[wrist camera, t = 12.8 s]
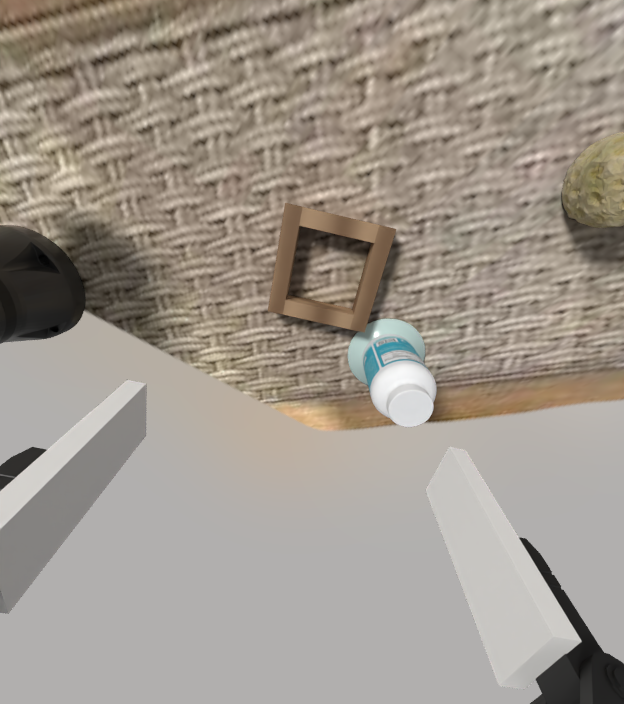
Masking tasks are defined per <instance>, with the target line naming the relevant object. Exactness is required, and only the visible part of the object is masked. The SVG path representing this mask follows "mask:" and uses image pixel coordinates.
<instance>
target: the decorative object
mask: <svg viewBox="0 0 624 704" xmlns="http://www.w3.org/2000/svg"><path fill="white" fill-rule="evenodd" d="M562 202H563V206H564V209H565V210H566V212H567V215H568V217H569V219H573V218H574V219H576V220H577V222H579V223H581V224H586V225H588V226H591V227H595V228H600V227H602V228H606V227H615V226H617V227H620V226H624V132H620V133H617V134H613V135H612V136H609V137H606V138H604V139H602V140H600V141H598V142H596V143H594V144H592V145H591V146H589V147H588V148H587V149H585V150H584V151H583V152H582V153H581V155H580V156H579V157H578V158H577V159H576V160H575V161H574V162H573V163H572V165H571V166H570V168H569V169H568V171H567V175H566V178H565V179H564V183H563V188H562Z"/></svg>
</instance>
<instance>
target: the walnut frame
mask: <svg viewBox="0 0 624 704" xmlns="http://www.w3.org/2000/svg"><path fill="white" fill-rule="evenodd" d="M301 226H303V227H308V228H312V229H316V230H320V231H325V232H329V233H333V234H337V235H342V236H346V237H350V238H354V239H359V240H363V241H367V242H371V244H370V248H369V251H368V255H367V258H366V262H365V265H364V269H363V273H362V276H361V280H360V283H359V287H358V290H357V294H356V298H355V301H354V305H353V308H352V309H350V308H346V307H341V306H337V305H332V304H328V303H323V302H319V301H315V300H310V299H306V298H301V297H297V296H292V295H288V293H289V287H290V282H291V277H292V271H293V266H294V261H295V255H296V250H297V244H298V239H299V234H300V228H301ZM395 232H396V229H394V228H389V227H385V226H381V225H377V224H372V223H368V222H364V221H360V220H356V219H351V218H347V217H343V216H339V215H335V214H330V213H326V212H322V211H318V210H314V209H309V208H305V207H301V206H297V205H293V204H288V203H285V208H284V214H283V220H282V226H281V232H280V239H279V245H278V251H277V257H276V263H275V270H274V276H273V282H272V288H271V294H270V301H269V307H268V311H270V312H274V313H279V314H283V315H288V316H292V317H297V318H301V319H306V320H310V321H315V322H319V323H324V324H328V325H333V326H337V327H342V328H346V329H351V330H355V331H360V332H365V329H366V326H367V323H368V319H369V316H370V313H371V310H372V306H373V303H374V300H375V297H376V293H377V290H378V287H379V284H380V280H381V277H382V274H383V271H384V267H385V264H386V261H387V258H388V254H389V251H390V248H391V245H392V241H393V238H394V235H395Z"/></svg>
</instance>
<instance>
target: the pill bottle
mask: <svg viewBox="0 0 624 704" xmlns="http://www.w3.org/2000/svg"><path fill="white" fill-rule="evenodd" d="M362 363H363V368H364V371H365V375H366V379H367V383H368V387H369V391H370V395H371V398H372V401H373V404H374V406H375V407H376V408H377V410H378V411H379V412H380V413H382V414H383V415H385V416H386V417H389V418H391V419H392V421H393V422H395V423H396V424H398V425H400V426H403V427H415V426H418V425H421V424H423V423H424V422H425V421H427V420H428V419H429V418H430V416H431V414H432V412H433V402H434V400H435V397H436V383H435V380H434V377H433V376H432V374H431V373H430V371H429V370H428V368H427V367H426V365H425V364H424V362H423V361H422V359H421V358H420V356H419V355H418V353H417V352H416V350H415V349H414V347H413V346H412V345H411V343H410V342H409V341H408V340H407V339H405V338H404V337H402V336H400V335H396V334H384V335H380V336H378V337H376V338H374V339H373V340H371V341H370V342H369V343H368V345H367V346H366V348H365V349H364V352H363V356H362Z"/></svg>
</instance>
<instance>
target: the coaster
mask: <svg viewBox="0 0 624 704" xmlns="http://www.w3.org/2000/svg"><path fill="white" fill-rule="evenodd" d="M384 334H396V335H400V336H402V337H404V338H405V339H407V340H408V341H409V342H410V343H411V345H412V346H413V347H414V349H415V350H416V352H417V353H418V355H419V356H420V358H421V359H422V361H424V357H425V345H424V341H423V339H422V337H421V335H420V334H419V332H418V331H417V330H416V329H415V328H414V327H413V326H412V325H410V324H409V323H407V322H405V321H402V320H399V319H393V318H385V319H379V320H375V321H373V322H370V323H368V324H367V326H366V329H365V332H360V331H358V332H357V333H356V334H355V335H354V337H353V338H352V340H351V342H350V345H349V348H348V362H349V366H350V369H351V371H352V372H353V374H354V375H355V377H356V378H357V379H358V380H360V381H361V382H363V383H364V384H366V385H368V383H367V379H366V375H365V371H364V368H363V363H362V356H363V352H364V349H365V348H366V346H367V345H368V343H369V342H370V341H371V340H373V339H374V338H376V337H378V336H380V335H384Z"/></svg>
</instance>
